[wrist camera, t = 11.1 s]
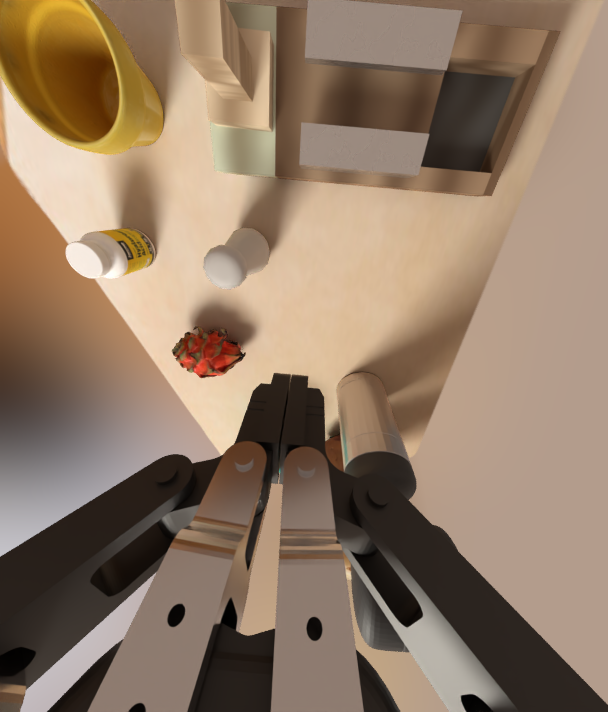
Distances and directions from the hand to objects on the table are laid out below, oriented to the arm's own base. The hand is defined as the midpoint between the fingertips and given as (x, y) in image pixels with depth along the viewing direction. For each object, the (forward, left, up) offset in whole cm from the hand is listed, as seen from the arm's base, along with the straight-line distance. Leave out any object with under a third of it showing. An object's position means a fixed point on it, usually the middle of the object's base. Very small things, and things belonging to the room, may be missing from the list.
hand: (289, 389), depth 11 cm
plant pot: (+25, +7, -29) cm, 39 cm away
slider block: (+18, -4, -26) cm, 32 cm away
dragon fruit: (-2, +22, -29) cm, 37 cm away
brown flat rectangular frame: (+9, -13, -29) cm, 33 cm away
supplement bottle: (+16, +20, -29) cm, 39 cm away
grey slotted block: (+9, -13, -26) cm, 30 cm away
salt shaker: (+6, +6, -29) cm, 30 cm away
